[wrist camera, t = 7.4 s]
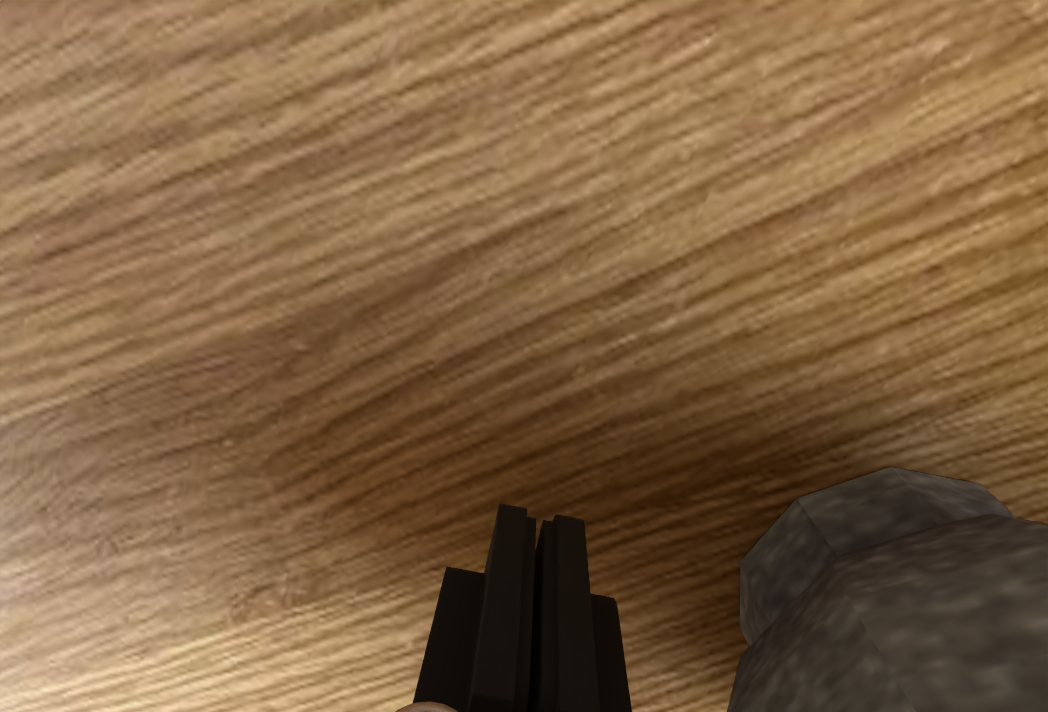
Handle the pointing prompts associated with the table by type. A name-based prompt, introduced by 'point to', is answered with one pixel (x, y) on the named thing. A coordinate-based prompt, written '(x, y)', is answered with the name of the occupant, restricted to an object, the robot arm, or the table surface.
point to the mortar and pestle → (895, 602)
